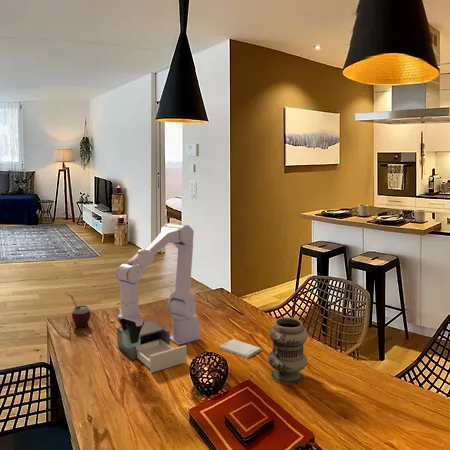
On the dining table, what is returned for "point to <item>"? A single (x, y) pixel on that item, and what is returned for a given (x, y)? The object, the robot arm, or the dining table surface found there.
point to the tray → (160, 355)
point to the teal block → (128, 339)
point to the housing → (145, 336)
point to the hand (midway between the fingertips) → (131, 340)
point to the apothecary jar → (287, 350)
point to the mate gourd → (80, 315)
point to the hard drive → (240, 348)
